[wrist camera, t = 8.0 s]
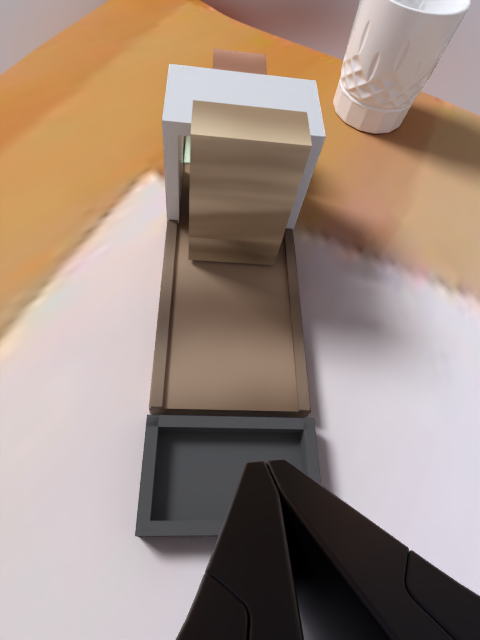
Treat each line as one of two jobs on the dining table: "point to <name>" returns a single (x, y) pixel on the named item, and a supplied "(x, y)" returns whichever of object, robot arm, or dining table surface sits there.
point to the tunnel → (238, 91)
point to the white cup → (392, 58)
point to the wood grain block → (243, 172)
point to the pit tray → (210, 467)
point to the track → (227, 331)
